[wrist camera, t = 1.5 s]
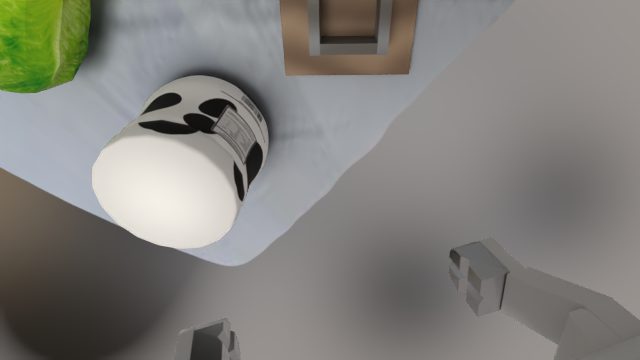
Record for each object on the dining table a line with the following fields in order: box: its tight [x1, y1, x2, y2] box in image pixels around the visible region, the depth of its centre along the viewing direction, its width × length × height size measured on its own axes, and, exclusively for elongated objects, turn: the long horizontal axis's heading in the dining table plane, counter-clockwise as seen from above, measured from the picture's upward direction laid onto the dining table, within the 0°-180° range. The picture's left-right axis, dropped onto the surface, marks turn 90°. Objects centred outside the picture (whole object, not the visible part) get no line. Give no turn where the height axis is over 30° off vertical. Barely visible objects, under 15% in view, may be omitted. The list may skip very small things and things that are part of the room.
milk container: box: [92, 75, 269, 249], centre depth 42 cm, size 17×17×18 cm
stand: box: [280, 0, 418, 75], centre depth 37 cm, size 16×16×6 cm
